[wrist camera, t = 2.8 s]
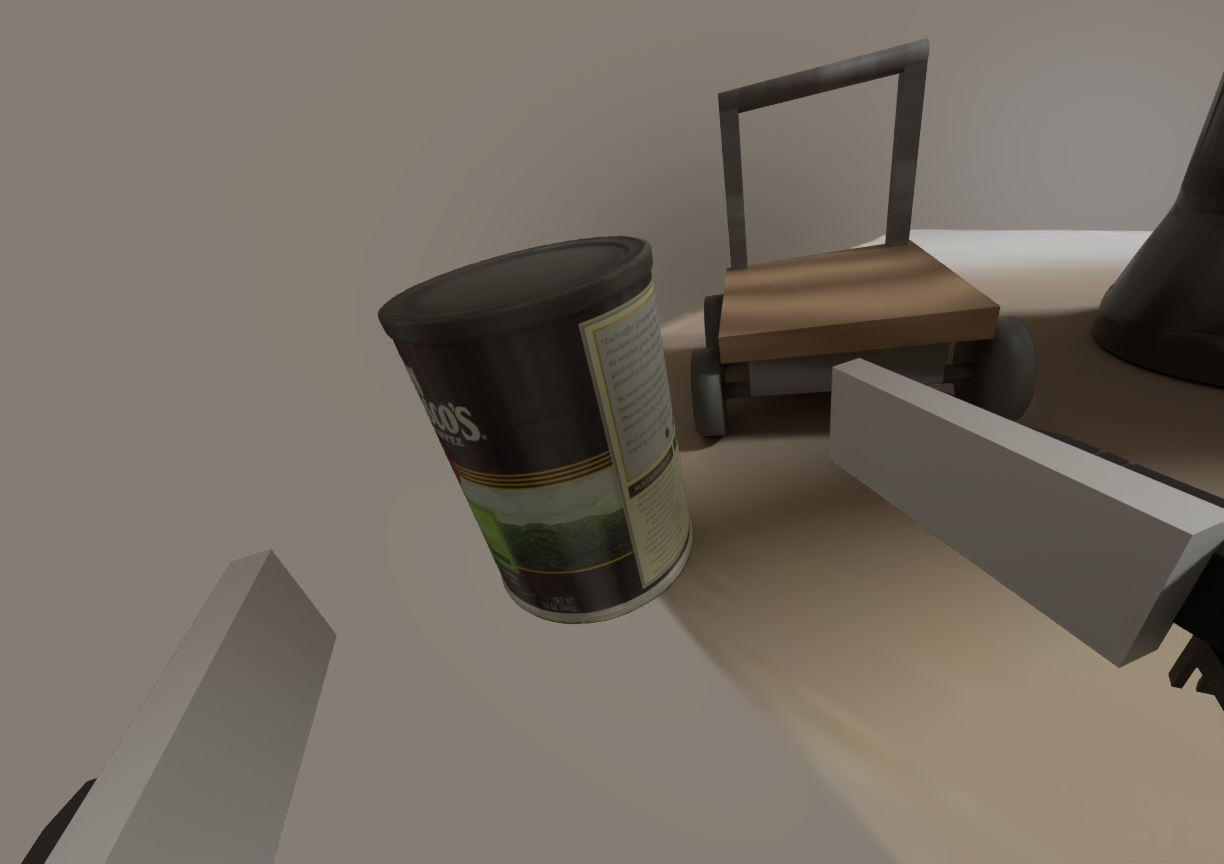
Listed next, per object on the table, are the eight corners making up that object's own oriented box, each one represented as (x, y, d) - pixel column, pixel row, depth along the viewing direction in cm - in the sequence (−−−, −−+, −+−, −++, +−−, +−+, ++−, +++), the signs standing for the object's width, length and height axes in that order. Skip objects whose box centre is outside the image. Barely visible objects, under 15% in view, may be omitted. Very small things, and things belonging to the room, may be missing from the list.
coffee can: (544, 672, 19) (391, 346, 12) (480, 535, 27) (367, 294, 20) (740, 549, 22) (710, 237, 15) (630, 460, 31) (578, 231, 24)
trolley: (713, 349, 43) (687, 102, 34) (922, 327, 38) (961, 30, 29) (699, 453, 30) (649, 91, 20) (1019, 441, 25) (1153, -49, 15)
